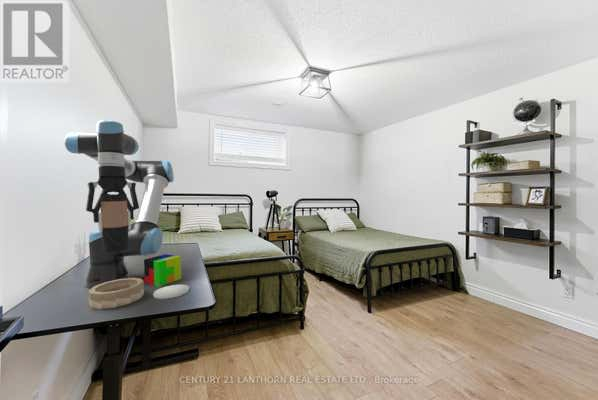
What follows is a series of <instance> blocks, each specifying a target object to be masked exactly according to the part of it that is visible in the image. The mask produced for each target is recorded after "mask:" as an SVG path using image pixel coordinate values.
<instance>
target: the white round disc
mask: <svg viewBox="0 0 598 400" xmlns="http://www.w3.org/2000/svg"><path fill="white" fill-rule="evenodd" d="M189 291H190V286H189V285H187V284H172V285H167V286H163V287H161V288H158V289H157V290H155V291H154V292H153V293H152V294H153V298H155V299H157V300H169V298H170V299H175V298H178V297H181V296H184V295H185V294H186V293H187V294H188V293H189ZM183 294H184V295H183ZM174 297H175V298H174Z"/></svg>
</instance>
